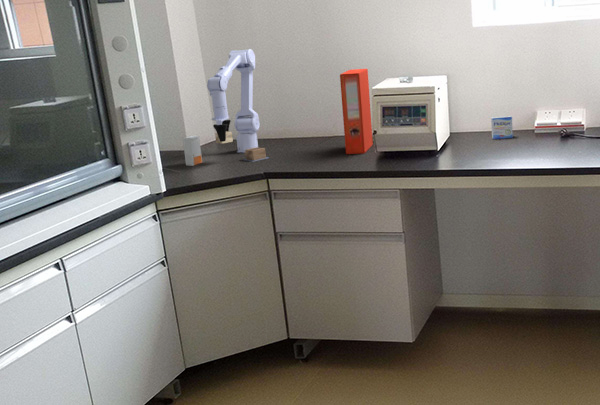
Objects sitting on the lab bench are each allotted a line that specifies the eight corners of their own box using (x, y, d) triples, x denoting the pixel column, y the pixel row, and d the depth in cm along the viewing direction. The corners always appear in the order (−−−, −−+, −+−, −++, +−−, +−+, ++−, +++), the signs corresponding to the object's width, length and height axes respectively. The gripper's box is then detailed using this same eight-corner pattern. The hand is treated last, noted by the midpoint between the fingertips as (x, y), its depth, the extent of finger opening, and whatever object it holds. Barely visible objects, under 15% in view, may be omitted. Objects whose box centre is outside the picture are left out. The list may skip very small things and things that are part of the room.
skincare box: (194, 167, 321) (189, 138, 318) (186, 166, 323) (181, 138, 320) (203, 163, 326) (199, 135, 323) (195, 163, 328) (191, 135, 325)
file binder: (373, 144, 328) (367, 68, 320) (365, 153, 312) (359, 72, 304) (354, 145, 330) (348, 69, 322) (346, 154, 314) (339, 74, 306)
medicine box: (492, 139, 313) (491, 118, 310) (491, 137, 317) (490, 116, 315) (513, 138, 311) (512, 116, 309) (511, 136, 315) (511, 115, 313)
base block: (246, 159, 322) (244, 149, 321) (258, 156, 325) (256, 147, 324) (254, 160, 317) (252, 151, 316) (266, 157, 320) (265, 148, 319)
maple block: (216, 142, 320) (214, 133, 319) (226, 140, 323) (225, 131, 322) (222, 143, 316) (221, 133, 315) (232, 141, 319) (231, 131, 318)
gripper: (213, 105, 323) (217, 137, 327) (207, 110, 309) (211, 143, 313) (229, 103, 323) (233, 136, 326) (224, 108, 309) (229, 142, 312)
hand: (224, 139), depth 319 cm, fingers closed on maple block, 7 cm apart
